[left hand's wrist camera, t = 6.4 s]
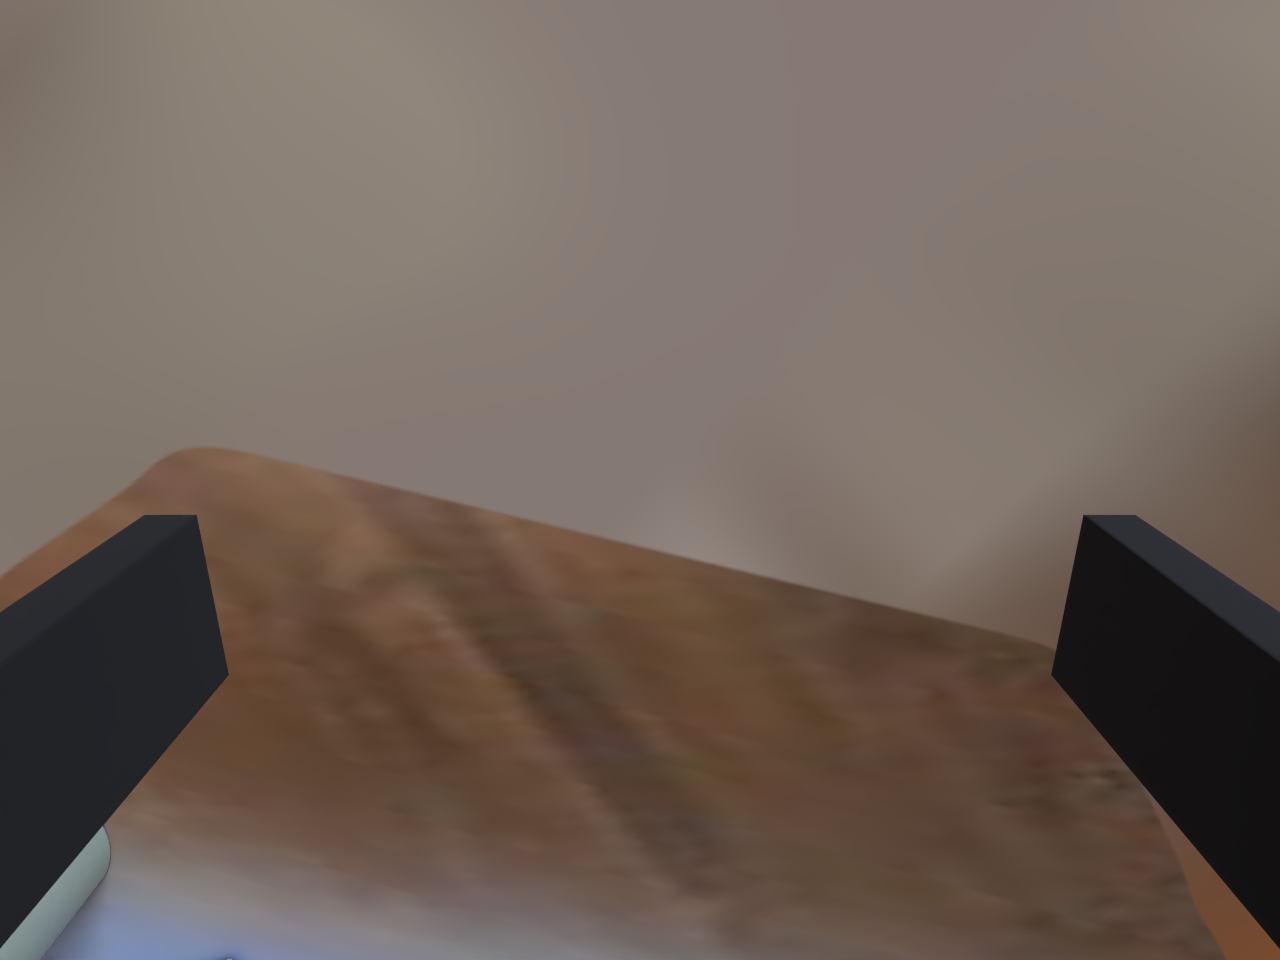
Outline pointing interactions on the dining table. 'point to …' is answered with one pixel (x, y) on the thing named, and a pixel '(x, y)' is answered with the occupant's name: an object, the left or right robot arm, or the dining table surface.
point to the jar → (60, 902)
